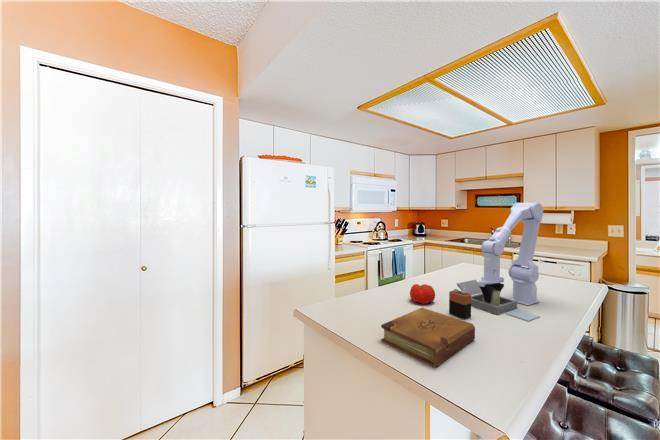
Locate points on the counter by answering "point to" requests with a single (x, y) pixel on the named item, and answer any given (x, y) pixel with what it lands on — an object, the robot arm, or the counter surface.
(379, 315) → the counter surface
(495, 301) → the block
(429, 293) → the tomato
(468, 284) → the case
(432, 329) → the diary
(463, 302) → the battery
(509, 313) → the mat
